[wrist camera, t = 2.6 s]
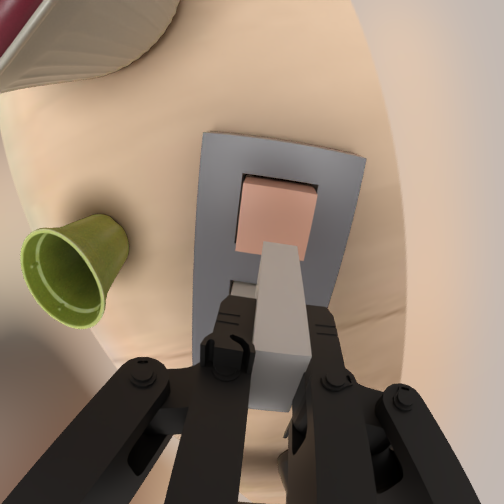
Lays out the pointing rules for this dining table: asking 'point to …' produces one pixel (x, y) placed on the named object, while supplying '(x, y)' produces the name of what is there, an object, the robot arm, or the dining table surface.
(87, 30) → the canister
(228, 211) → the keypad
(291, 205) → the terracotta key
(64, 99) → the dining table surface
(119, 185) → the dining table surface
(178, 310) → the dining table surface
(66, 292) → the plant pot
